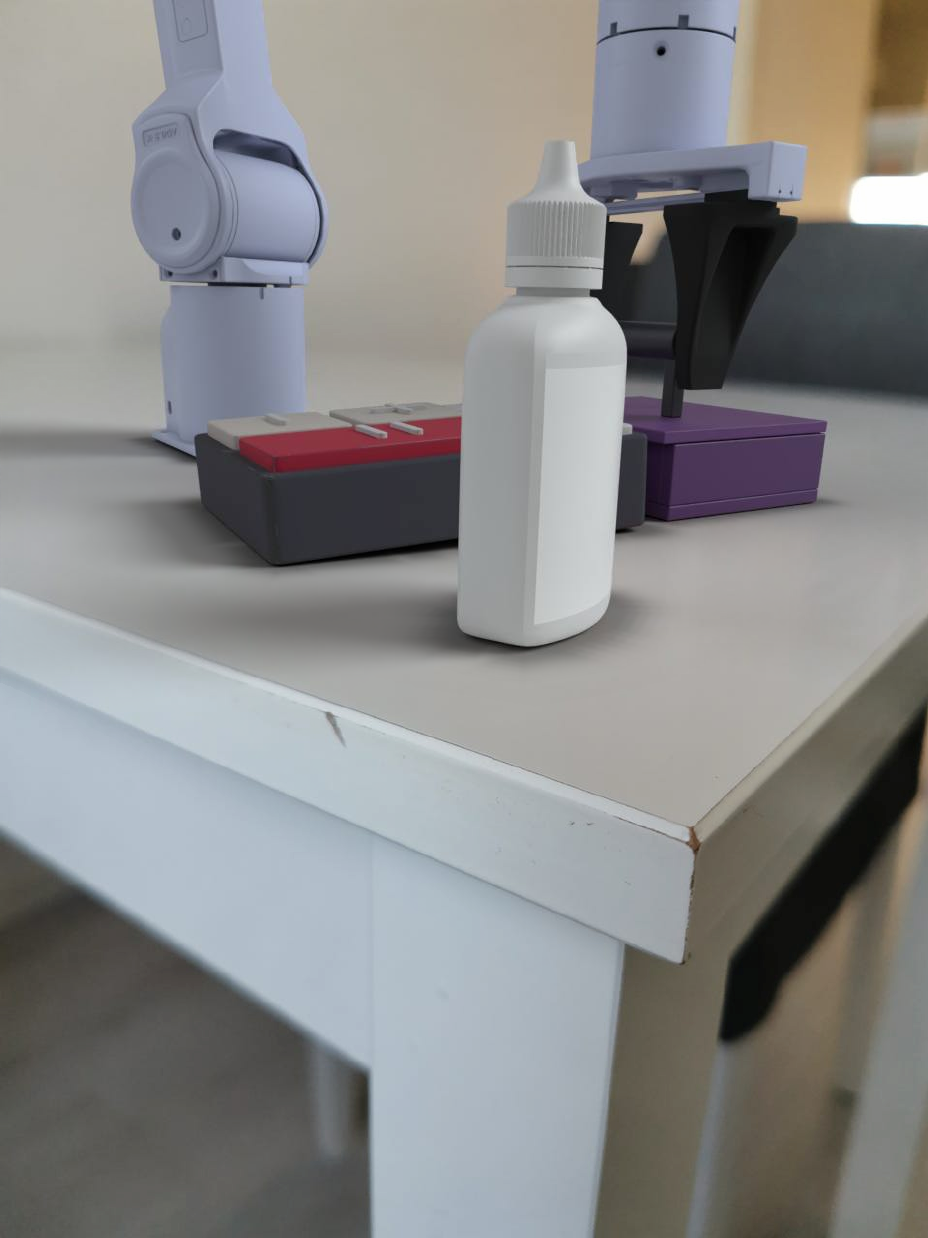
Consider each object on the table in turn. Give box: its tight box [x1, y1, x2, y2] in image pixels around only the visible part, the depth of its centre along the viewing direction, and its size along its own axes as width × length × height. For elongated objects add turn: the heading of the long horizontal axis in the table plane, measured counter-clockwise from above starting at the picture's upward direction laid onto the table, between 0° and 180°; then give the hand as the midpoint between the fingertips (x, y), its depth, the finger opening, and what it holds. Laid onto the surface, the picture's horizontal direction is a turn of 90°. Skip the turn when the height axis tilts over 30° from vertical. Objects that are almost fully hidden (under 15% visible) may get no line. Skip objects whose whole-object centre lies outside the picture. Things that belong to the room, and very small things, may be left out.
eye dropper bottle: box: [456, 139, 628, 647], centre depth 25 cm, size 4×6×12 cm
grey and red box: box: [194, 401, 647, 565], centre depth 39 cm, size 11×4×15 cm
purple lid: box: [616, 319, 828, 444], centre depth 45 cm, size 10×12×4 cm
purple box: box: [645, 432, 826, 521], centre depth 46 cm, size 9×12×3 cm
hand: (640, 382), depth 45 cm, fingers open, 7 cm apart
